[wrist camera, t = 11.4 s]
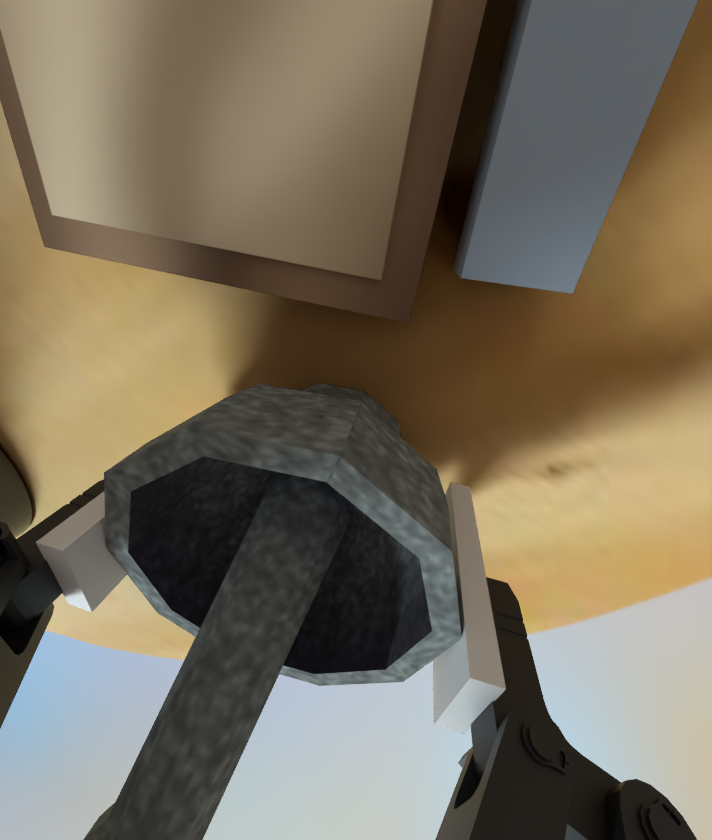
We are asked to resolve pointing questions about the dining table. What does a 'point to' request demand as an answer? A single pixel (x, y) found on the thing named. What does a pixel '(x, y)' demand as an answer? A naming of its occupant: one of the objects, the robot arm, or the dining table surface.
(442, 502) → the mortar and pestle
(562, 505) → the dining table surface
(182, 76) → the stand
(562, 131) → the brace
